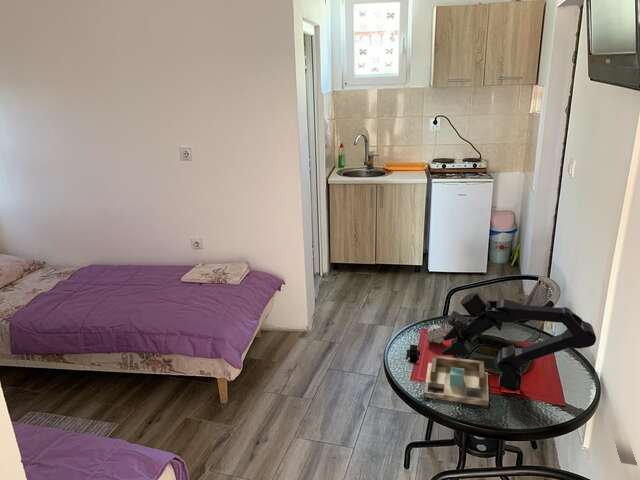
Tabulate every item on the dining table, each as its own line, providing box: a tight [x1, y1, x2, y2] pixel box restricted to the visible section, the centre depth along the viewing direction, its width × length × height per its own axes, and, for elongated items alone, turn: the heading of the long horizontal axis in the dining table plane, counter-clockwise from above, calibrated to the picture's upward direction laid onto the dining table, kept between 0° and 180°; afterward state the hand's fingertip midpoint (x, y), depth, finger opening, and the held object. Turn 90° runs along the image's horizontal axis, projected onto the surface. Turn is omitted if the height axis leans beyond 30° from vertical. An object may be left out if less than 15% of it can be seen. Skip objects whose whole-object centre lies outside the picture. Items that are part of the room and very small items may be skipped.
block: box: [450, 367, 464, 387], centre depth 174 cm, size 4×4×4 cm
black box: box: [405, 344, 420, 364], centre depth 194 cm, size 12×7×5 cm, turn 167°
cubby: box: [430, 355, 485, 387], centre depth 179 cm, size 18×10×4 cm, turn 74°
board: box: [423, 362, 490, 407], centre depth 176 cm, size 21×18×2 cm
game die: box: [424, 322, 447, 346], centre depth 202 cm, size 9×8×10 cm
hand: (443, 346), depth 177 cm, fingers open, 9 cm apart
